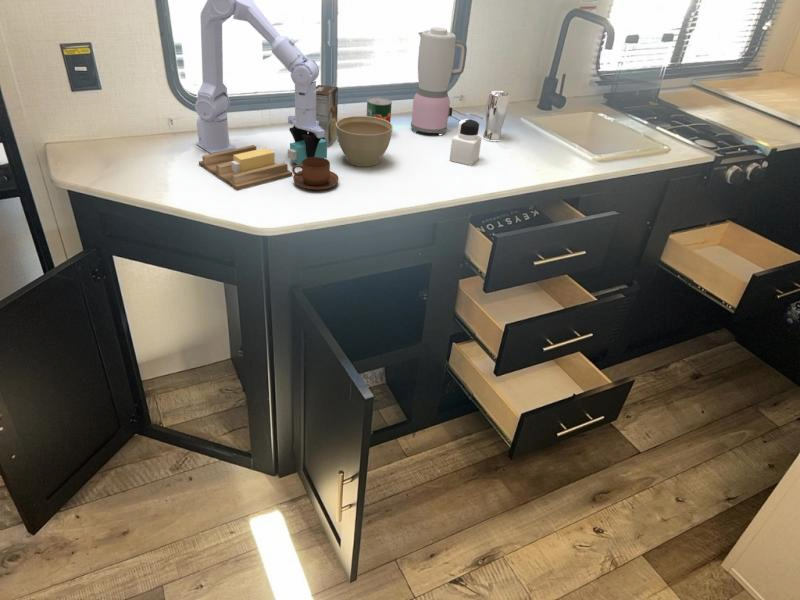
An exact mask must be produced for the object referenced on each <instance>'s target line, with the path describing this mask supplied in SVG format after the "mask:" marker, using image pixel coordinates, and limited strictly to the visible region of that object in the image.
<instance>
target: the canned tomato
mask: <svg viewBox="0 0 800 600" xmlns="http://www.w3.org/2000/svg"><path fill="white" fill-rule="evenodd" d="M392 103H393V102H392V100H391V99H389V98H387V97H378V96H377V97H369V98H367V99H366V116H368V117H376V118H380V119H383V120H386V121H388V122H390V123H391V118H392V117H391V115H392V105H393V104H392Z"/></svg>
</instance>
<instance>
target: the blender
mask: <svg viewBox="0 0 800 600" xmlns="http://www.w3.org/2000/svg"><path fill="white" fill-rule="evenodd" d="M418 35H419V37H420V40H419V46H418V55H417V56H418V58H417V79H418V88H417V91H416V93H415V95H414V97H413V102H412V113H411V121H410V126H411V129H412V132H413V131H414V132H417V133H418V132H421V133H430V134H437V135H438V134H443V135H444V133H445V132H446V131H447V129H448V120H449V117H452V114H453V107H451V106H450V104H451V101H450V98H449V97H450V96H449V93H448V87H449V85H450V84H449V83H450V81H451V80H450V79H451V76H454V75H456V76H458V75H461V74H463V73H464V70H465V67H466V66H465V65H466V60H467V59H466V58H467V54H468V53H467V52H468V51H467V50H468V47H467V45H466V43H465V42H464V41H463V40H458V39H457V37H456V35H455V34H454V33H453V32H450V31H448V29H447V28H444V27H431V28H430V30H423V31H422V32H418ZM456 47H459V48H460V49H461V51H460V52H461V53H460V57H459V58H460V61H459V65H458V66H459V67H458V68H455V69H453V68H454V61H455V60H454V59H455V51H456ZM414 132H413V133H414Z"/></svg>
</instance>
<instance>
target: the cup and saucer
mask: <svg viewBox="0 0 800 600" xmlns="http://www.w3.org/2000/svg"><path fill="white" fill-rule="evenodd" d="M330 167H331V162H330V161H329V160H328V159H327V158H319V157H311V158H306V159H304V160H303V161H302V164H300V165H298V164H296V165H295V164H294V165H293V166H292V168H291V172H292V174H293V175H292V177H293V178H292V179H293V181H294V183H295V184H297V185H298V186H299V187H302V188H305V189H307V190H314V191H315V190H316V191H317V190H326V189H329V188H332V187H333V186H336V184H337V183H338V182H339V175H337V173H335V172H334V171H331V168H330ZM296 168H300V169H301V170H300V171H297V172H296Z"/></svg>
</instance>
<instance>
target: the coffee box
mask: <svg viewBox="0 0 800 600" xmlns="http://www.w3.org/2000/svg"><path fill="white" fill-rule="evenodd" d="M338 89H339V88H338V86H332V85H331V86H330V85H324V84H317V85H316V120H317V121H319V124H318V125H319V126H320V127H321V128H322V129H323V130H324V137H322V139H324V140H326V141H327V148H329V147H331V145H332V144H334V142H335V141H336V140H338V138H337V129H336V123H337V121H338V113H339V112H338V110H339V109H338V105H339V104H338V103H339V102H338V101H339V98H338V97H339V96H338V94H339V93H338V92H339V90H338Z"/></svg>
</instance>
